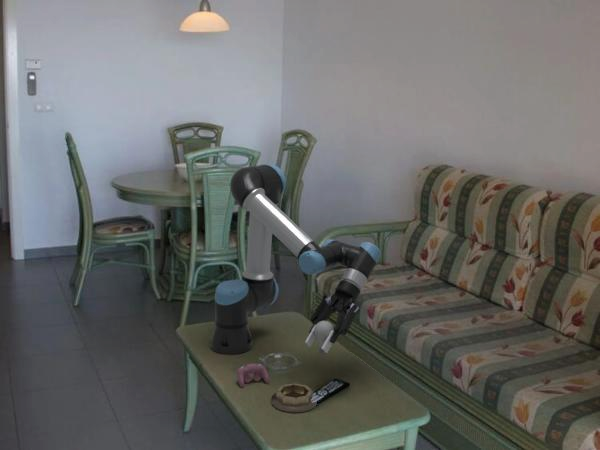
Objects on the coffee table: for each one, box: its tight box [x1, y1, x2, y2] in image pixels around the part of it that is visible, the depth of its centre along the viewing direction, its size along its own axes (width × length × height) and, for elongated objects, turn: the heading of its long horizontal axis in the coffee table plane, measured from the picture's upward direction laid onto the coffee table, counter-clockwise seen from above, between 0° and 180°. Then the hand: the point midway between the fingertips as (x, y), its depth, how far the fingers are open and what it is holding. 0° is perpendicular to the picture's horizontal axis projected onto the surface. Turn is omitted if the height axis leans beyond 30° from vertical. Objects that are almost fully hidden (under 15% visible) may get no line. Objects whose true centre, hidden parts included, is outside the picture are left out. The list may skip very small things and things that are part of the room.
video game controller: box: [236, 363, 270, 388], centre depth 220 cm, size 10×5×7 cm, turn 112°
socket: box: [270, 383, 318, 414], centre depth 208 cm, size 14×14×4 cm
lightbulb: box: [314, 320, 335, 356], centre depth 215 cm, size 6×6×11 cm
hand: (316, 347), depth 213 cm, fingers closed on lightbulb, 6 cm apart
